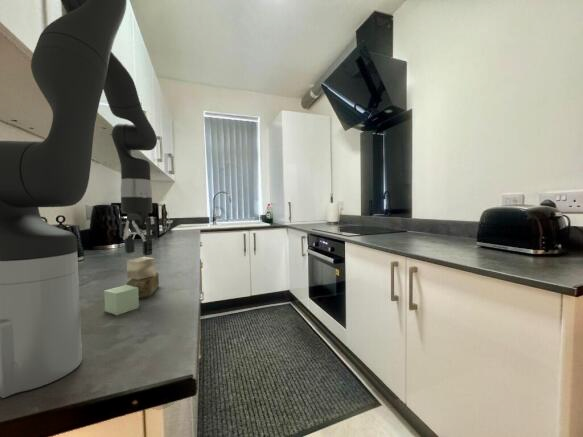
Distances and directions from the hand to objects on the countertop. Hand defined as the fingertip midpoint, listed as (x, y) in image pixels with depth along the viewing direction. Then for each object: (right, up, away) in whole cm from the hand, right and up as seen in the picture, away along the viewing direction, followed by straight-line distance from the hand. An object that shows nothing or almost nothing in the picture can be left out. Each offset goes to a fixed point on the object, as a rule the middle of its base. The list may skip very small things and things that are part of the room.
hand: (138, 253), depth 73 cm
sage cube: (+3, -12, -11) cm, 17 cm away
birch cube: (0, -7, +1) cm, 7 cm away
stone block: (+1, -12, +1) cm, 12 cm away
